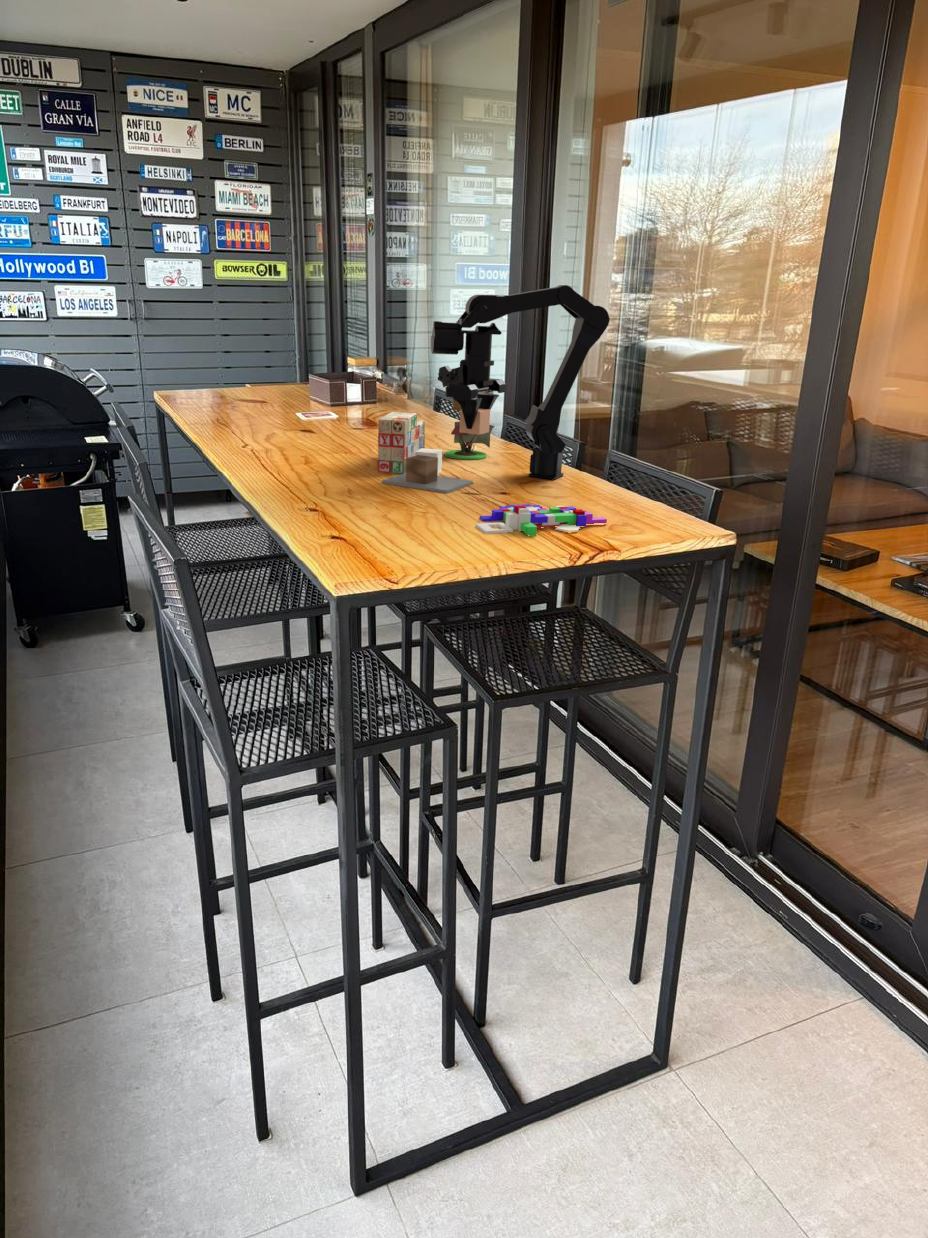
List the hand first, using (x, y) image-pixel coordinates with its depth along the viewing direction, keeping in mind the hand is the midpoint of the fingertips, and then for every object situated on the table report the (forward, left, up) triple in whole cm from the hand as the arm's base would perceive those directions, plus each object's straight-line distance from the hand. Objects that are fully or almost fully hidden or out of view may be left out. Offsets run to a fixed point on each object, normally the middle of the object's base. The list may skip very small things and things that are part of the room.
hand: (474, 427), depth 203 cm
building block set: (-28, +30, -12) cm, 43 cm away
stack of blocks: (+19, -1, -11) cm, 22 cm away
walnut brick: (+5, +15, -10) cm, 19 cm away
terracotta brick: (0, 0, -1) cm, 1 cm away
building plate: (+4, +14, -11) cm, 18 cm away
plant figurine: (+12, -21, -11) cm, 27 cm away
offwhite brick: (+10, +3, -11) cm, 15 cm away
